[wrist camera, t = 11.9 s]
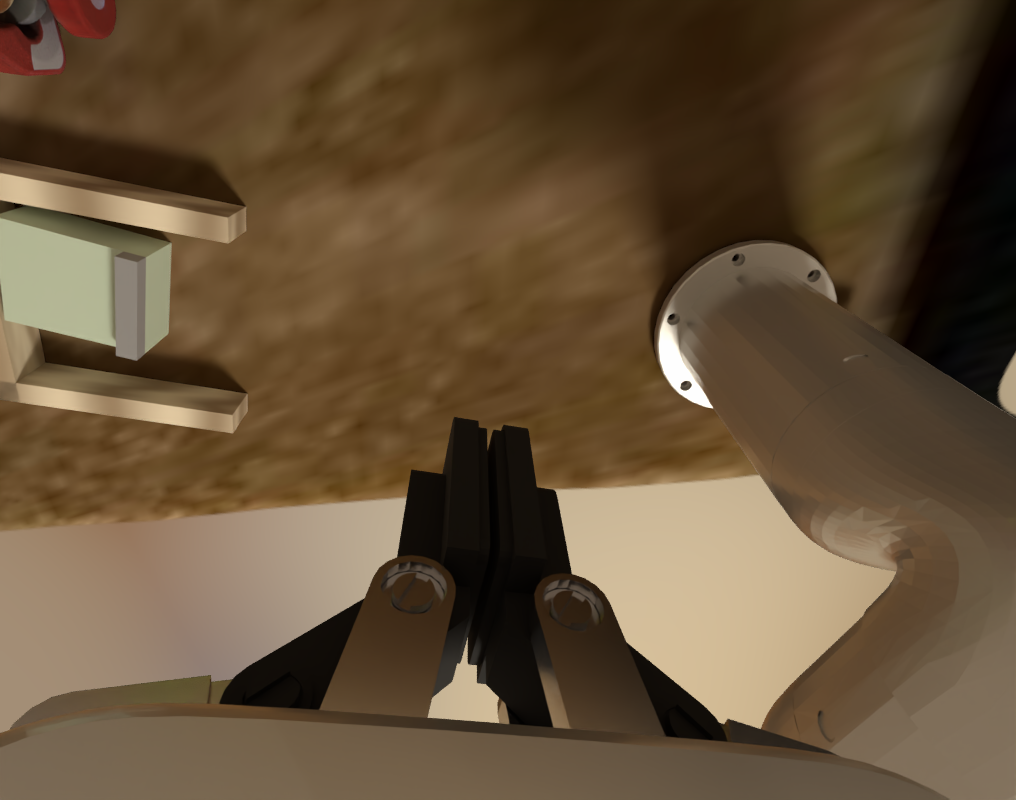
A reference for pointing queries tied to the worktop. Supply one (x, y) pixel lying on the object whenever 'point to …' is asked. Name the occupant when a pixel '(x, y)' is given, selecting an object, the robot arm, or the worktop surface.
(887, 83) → the worktop surface
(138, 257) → the pale green block
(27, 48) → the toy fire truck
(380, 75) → the worktop surface
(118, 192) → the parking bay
